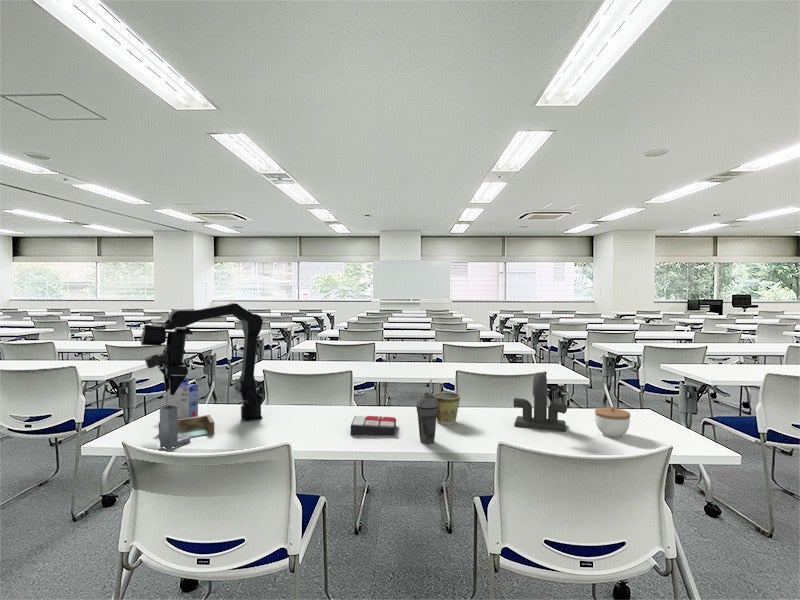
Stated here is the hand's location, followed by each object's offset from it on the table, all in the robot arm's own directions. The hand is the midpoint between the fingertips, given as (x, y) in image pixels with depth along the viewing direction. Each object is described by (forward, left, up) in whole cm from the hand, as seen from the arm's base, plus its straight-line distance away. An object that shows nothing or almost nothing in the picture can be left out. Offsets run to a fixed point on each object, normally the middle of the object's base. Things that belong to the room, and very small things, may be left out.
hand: (169, 392), depth 149 cm
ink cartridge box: (-6, -19, -14) cm, 24 cm away
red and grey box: (-61, +34, -15) cm, 71 cm away
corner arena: (-5, +4, -14) cm, 15 cm away
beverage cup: (-70, +53, -14) cm, 89 cm away
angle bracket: (-1, +14, -14) cm, 20 cm away
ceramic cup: (-89, +39, -14) cm, 98 cm away
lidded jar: (-127, +80, -14) cm, 151 cm away
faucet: (-111, +63, -14) cm, 128 cm away
